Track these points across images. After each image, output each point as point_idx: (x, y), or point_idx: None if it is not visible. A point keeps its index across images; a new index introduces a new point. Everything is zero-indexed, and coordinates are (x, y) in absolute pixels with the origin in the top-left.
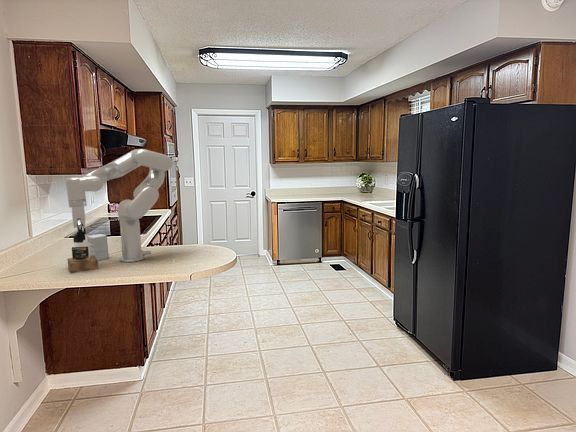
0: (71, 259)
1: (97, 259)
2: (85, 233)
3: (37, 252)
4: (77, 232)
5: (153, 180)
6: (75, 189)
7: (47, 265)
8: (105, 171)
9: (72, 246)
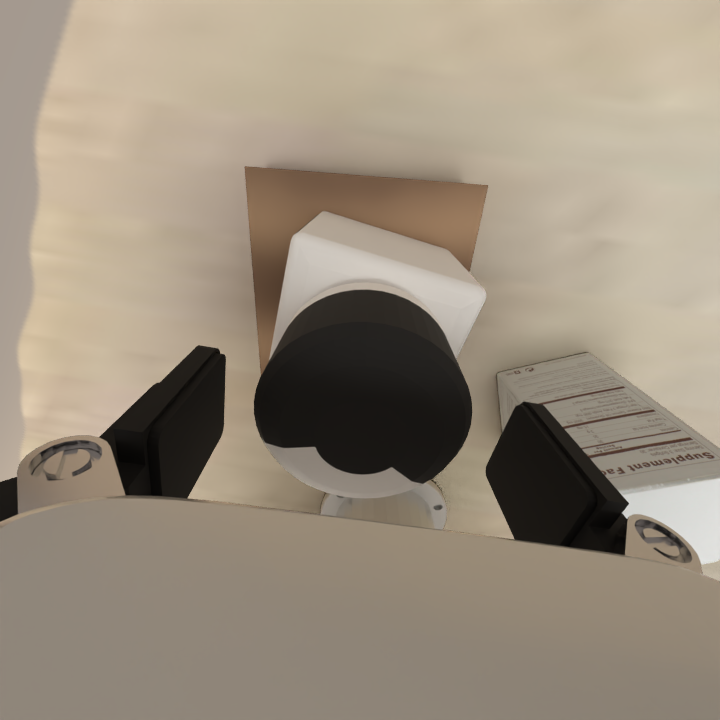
0: (418, 214)
1: (500, 386)
2: (501, 502)
3: None
4: (68, 440)
5: None
6: None
7: (706, 14)
8: None
9: (295, 244)
